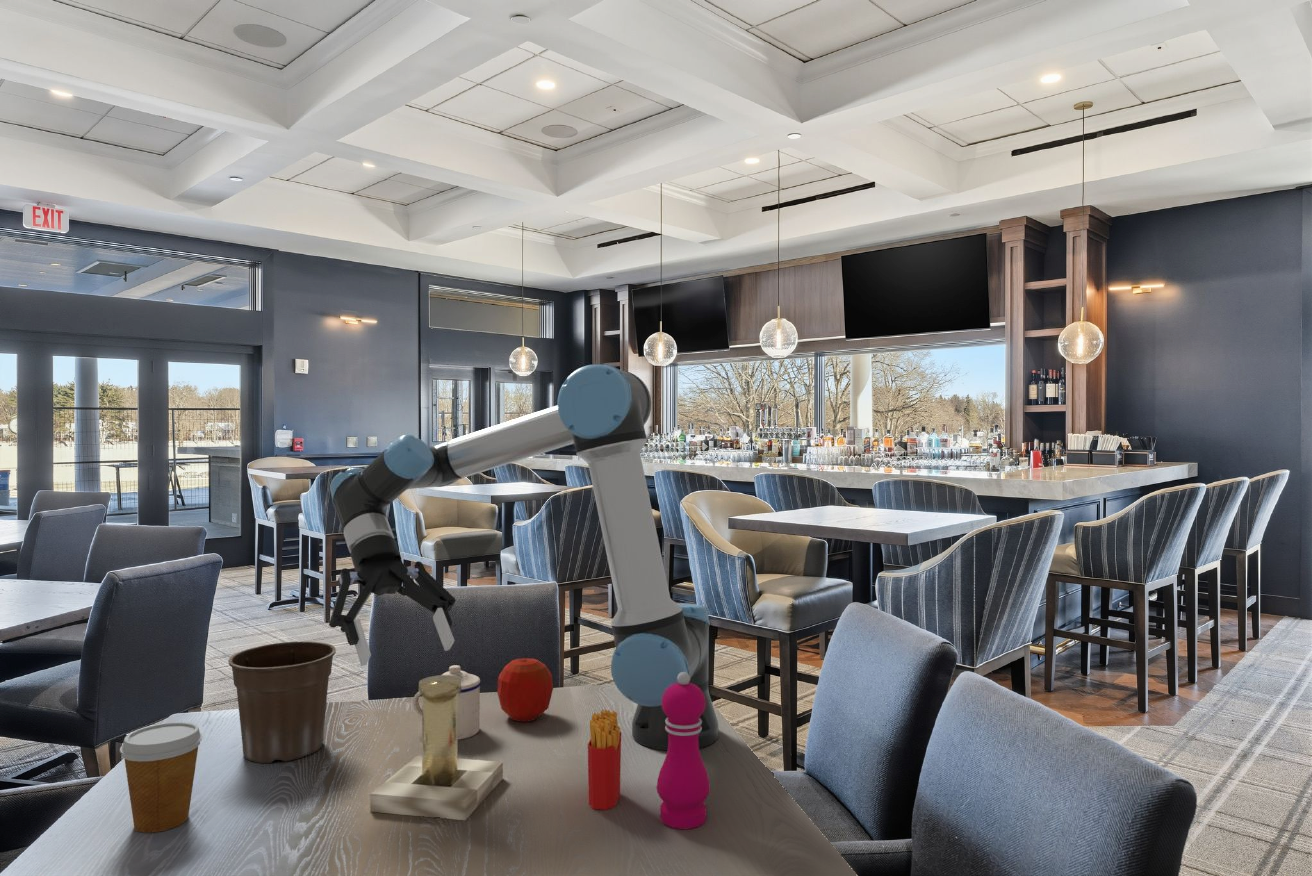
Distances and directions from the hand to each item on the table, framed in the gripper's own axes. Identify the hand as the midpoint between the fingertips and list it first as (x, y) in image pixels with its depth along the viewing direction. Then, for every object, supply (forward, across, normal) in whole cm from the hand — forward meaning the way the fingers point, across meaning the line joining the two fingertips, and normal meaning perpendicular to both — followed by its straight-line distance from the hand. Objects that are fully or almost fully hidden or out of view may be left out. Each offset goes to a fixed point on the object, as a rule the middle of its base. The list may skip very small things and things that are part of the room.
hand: (409, 653), depth 127 cm
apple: (+6, -27, -20) cm, 34 cm away
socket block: (+20, 0, -6) cm, 21 cm away
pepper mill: (+41, -22, +14) cm, 49 cm away
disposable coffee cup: (+9, +32, -17) cm, 38 cm away
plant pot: (-2, +12, -29) cm, 31 cm away
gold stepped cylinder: (+20, 0, -6) cm, 21 cm away
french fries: (+32, -18, +6) cm, 37 cm away
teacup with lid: (+4, -12, -22) cm, 26 cm away
